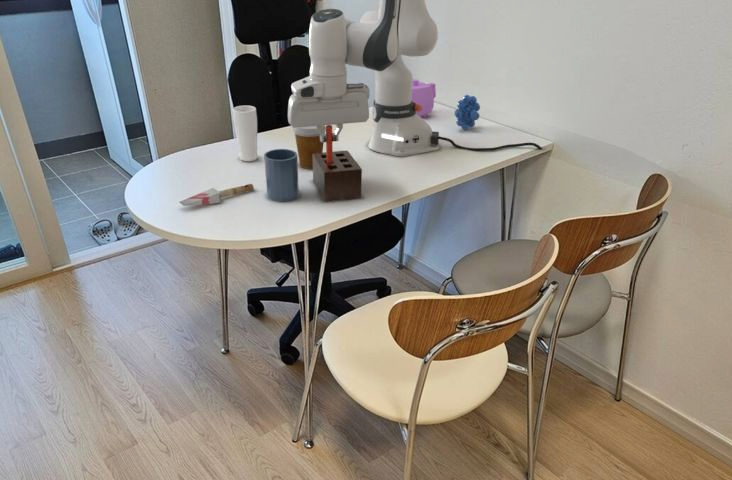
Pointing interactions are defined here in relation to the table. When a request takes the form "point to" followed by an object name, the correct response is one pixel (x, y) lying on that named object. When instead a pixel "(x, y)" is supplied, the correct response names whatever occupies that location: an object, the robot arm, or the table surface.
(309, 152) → the disposable coffee cup
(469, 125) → the grapes
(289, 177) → the tumbler
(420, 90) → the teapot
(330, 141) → the straw
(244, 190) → the grey and wooden tool
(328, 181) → the caddy
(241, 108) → the drinking glass
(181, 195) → the table surface
